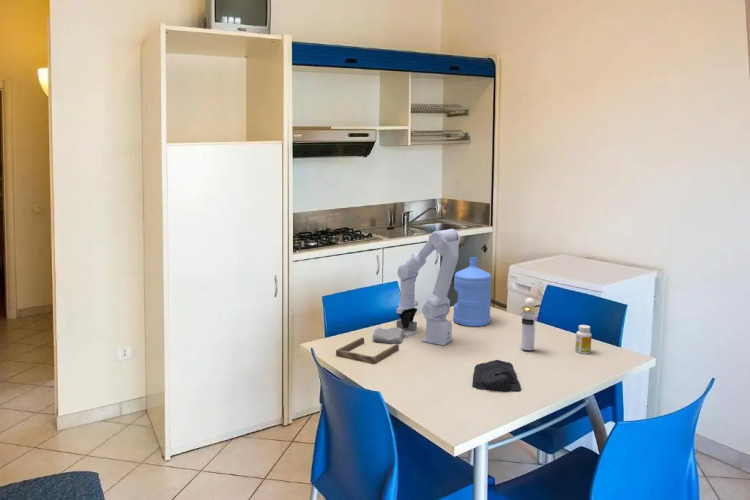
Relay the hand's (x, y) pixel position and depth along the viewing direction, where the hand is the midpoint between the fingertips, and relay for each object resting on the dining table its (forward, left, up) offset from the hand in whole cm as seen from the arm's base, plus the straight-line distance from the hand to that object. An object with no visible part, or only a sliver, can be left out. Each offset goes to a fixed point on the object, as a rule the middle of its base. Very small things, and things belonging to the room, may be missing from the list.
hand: (407, 326), depth 258 cm
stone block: (+1, +13, -2) cm, 14 cm away
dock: (0, +30, -2) cm, 30 cm away
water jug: (-17, -26, -2) cm, 32 cm away
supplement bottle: (-67, -12, -2) cm, 68 cm away
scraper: (0, +3, -2) cm, 4 cm away
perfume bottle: (-49, -3, -2) cm, 49 cm away
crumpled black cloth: (-49, +29, -3) cm, 57 cm away
